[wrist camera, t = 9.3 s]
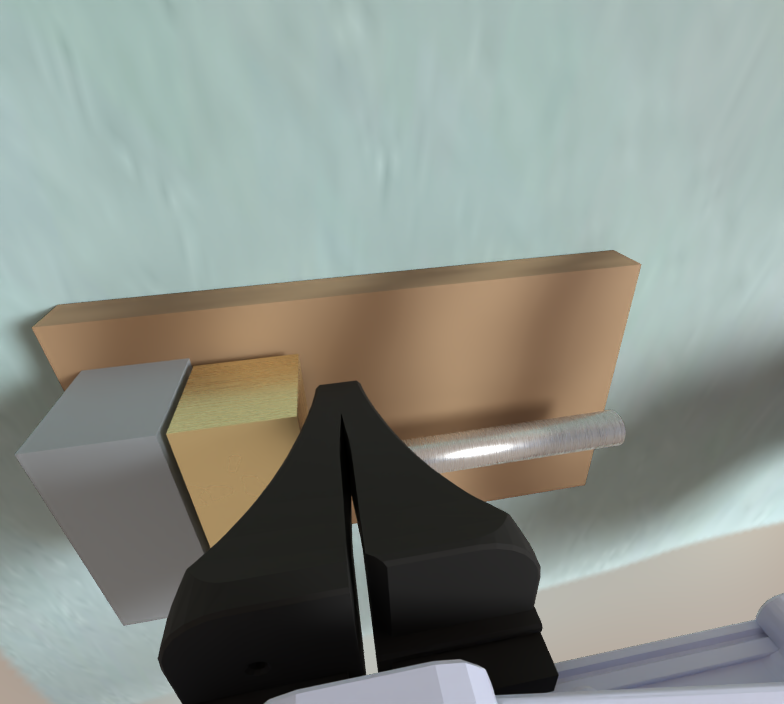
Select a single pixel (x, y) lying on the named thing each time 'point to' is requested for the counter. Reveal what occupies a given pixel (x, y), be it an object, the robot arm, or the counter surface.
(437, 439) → the base
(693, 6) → the counter surface
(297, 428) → the nut
